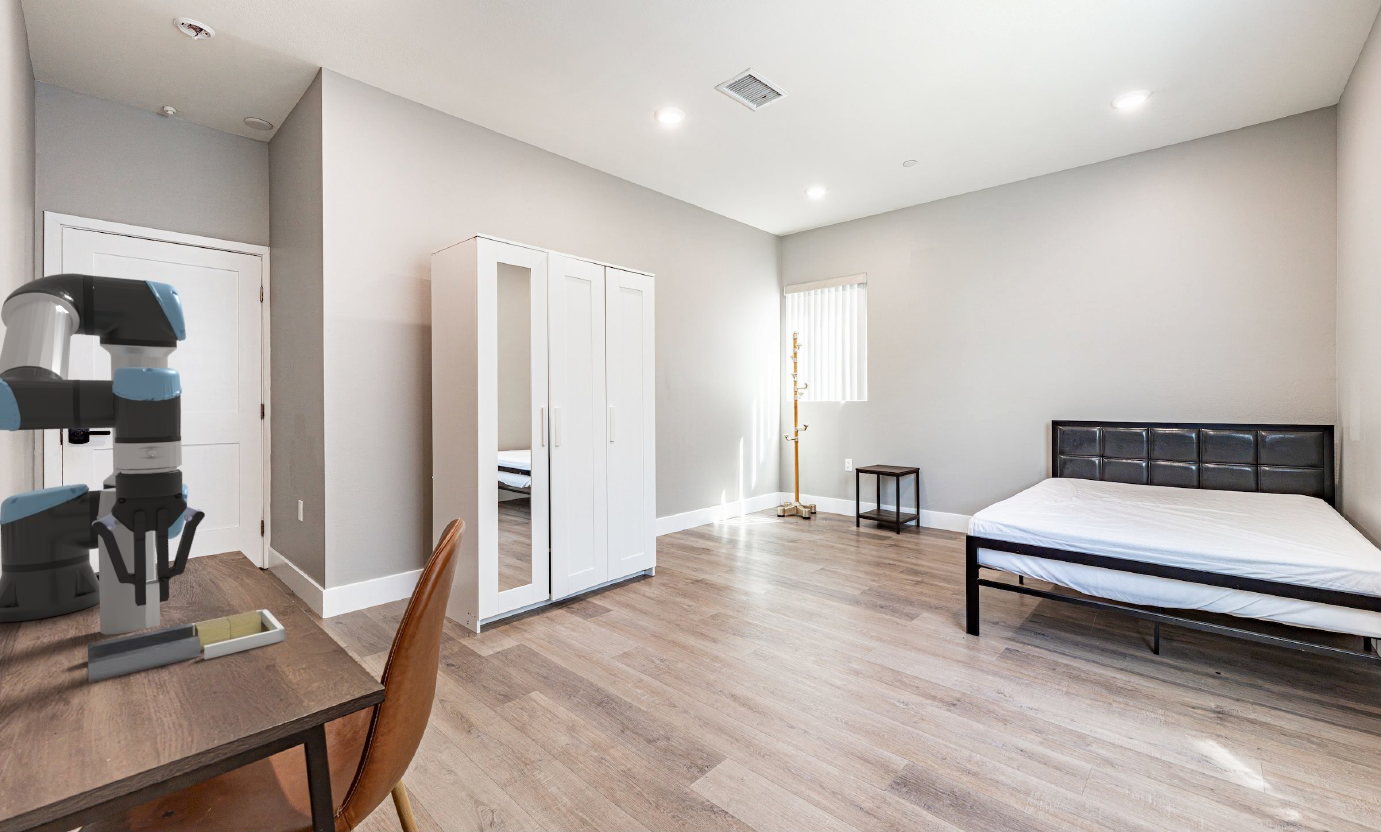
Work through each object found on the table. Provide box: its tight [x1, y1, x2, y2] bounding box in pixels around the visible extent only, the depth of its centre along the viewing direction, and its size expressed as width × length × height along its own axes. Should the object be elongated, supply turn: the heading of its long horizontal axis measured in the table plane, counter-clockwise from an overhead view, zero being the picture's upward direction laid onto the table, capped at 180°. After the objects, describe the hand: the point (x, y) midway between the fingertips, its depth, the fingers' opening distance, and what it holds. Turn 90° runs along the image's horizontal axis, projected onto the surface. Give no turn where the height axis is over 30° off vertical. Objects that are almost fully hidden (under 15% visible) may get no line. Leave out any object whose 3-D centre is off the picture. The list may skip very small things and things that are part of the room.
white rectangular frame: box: [192, 608, 286, 660], centre depth 99 cm, size 14×10×3 cm
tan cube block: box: [194, 616, 230, 651], centre depth 96 cm, size 4×4×4 cm
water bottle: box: [97, 488, 157, 636], centre depth 104 cm, size 9×8×25 cm
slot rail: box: [86, 622, 201, 683], centre depth 91 cm, size 10×12×4 cm
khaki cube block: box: [225, 610, 262, 640], centre depth 99 cm, size 4×4×4 cm
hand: (152, 623), depth 92 cm, fingers closed
